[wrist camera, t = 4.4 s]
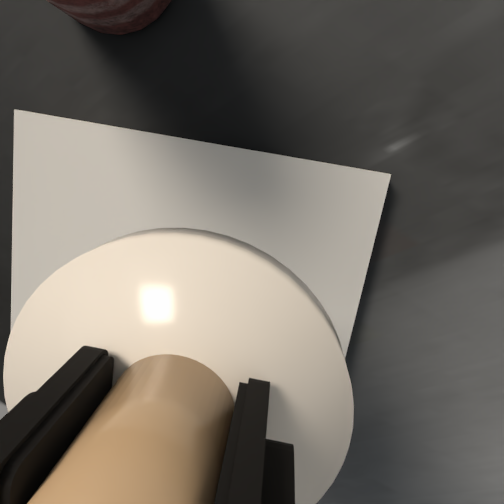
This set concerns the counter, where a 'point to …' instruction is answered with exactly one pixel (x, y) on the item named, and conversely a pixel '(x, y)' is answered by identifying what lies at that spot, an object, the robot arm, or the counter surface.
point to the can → (113, 13)
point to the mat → (188, 204)
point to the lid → (183, 366)
